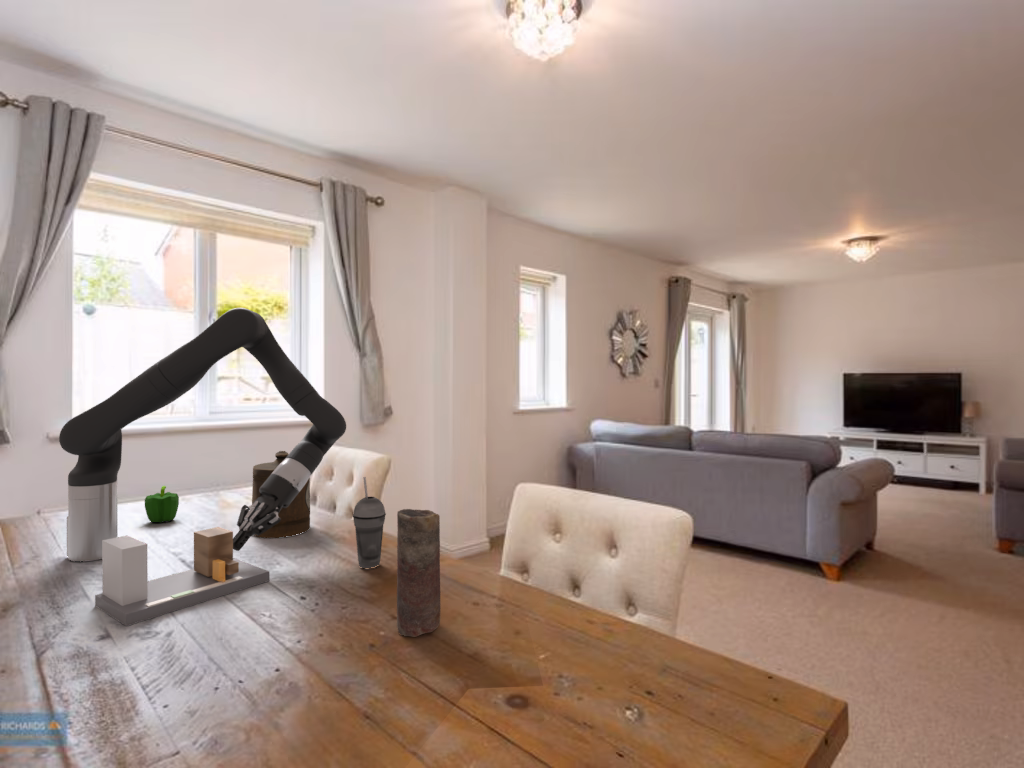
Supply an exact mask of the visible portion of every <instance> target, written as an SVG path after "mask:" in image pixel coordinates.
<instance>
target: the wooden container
mask: <svg viewBox="0 0 1024 768" xmlns="http://www.w3.org/2000/svg"><path fill="white" fill-rule="evenodd" d="M289 454H290V453H289V452H288V451H286V450H279V451H277V452H275V455H274V456H275V458H276V459H275V460H274V461H271V462H264V463H263V462H261V463H259V464H255V465H253V467H252V490H251V491H252V493H251V496H252V497H251V505H253V502H254V501H255V500H256V499H257V498H259V497H260V492H259V488H260V487H261V486H262V485H263V483H264V482H265V481H266V480H267V479H268V477H269V476H270V475H271V474H272V472H273V471H274V470H275V469H276V468H277V466H278V465H279V464H280V463H281V462H283V461H284V460H285V458H286V457H287V456H288V455H289ZM310 477H311V476H310ZM310 477H309V479H308V481H307V482H306V484H305V485H304V487H303V488H302V489H301V490H300V492H299V493H298V494H297V496H296V497H295V498H294V500H293V501H292V502H291V503H290V505H289V506H288V507H287V508H281V510H280V512H279V513H278V517H279V518H281V521H280V522H279V523H277V524H276V525H274V526H273V527H271V528H270V529H268V530H267V531H265V532H264V533H262V534H261V535H259V536H257V535H254V536H253V537H257V538H260V537H261V538H263V539H280V538H279V537H284V538H287V537H286V536H291V537H293V536H292V535H295V536H297V535H296V534H299V535H301V534H300V533H302V532H305V531H306V532H308V531H309V530H310V529H309V528H311V489H310V488H311V482H310V481H311V478H310ZM308 529H309V530H308ZM307 530H308V531H307ZM306 532H305V533H306ZM302 534H303V533H302ZM261 538H260V539H261Z"/></svg>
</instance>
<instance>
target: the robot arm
mask: <svg viewBox="0 0 1024 768" xmlns="http://www.w3.org/2000/svg"><path fill="white" fill-rule="evenodd" d="M241 348H243V349H245V350H246V351H247V352H248V353H249V354H250V355H252V356H253V358H255V359H256V360H257V362H259V363H260V365H261V366H262V367H263V369H264V370H265V371H266V373H267V374H268V376H269V378H270V379H271V381H272V383H273V385H274V387H275V388H276V390H277V391H278V392H279V393H278V394H280V396H282V398H283V399H284V400H285V402H286V403H287V404H288V405H289V407H290V408H292V410H293V411H294V412H295V413H296V414H297V415H298V416H301V417H303V416H304V417H305V418H306V419H308V420H309V422H310V423H312V425H311V427H310V428H309V430H307V432H306V433H305V435H304V436H303V438H302V439H301V440H300V442H299V443H298V444H297V445H295V446H294V448H293V449H292V450H291V451H290V452H289V453H288V454H289V455H288V456H287V457H286V458H285V460H284V461H283V462H281V463H280V464H279V465H278V466H277V468H276V469H275V470H274V471H273V472H272V474H271V475H270V476H269V477H268V479H267V480H266V481H265V482H264V483H263V485H262V486H261V487H260V488H259V492H260V497H259V498H257V499H256V500H255V501H254V502H253V505H252V504H250V505H249V506H248V505H247V504H244V505H243V506H242V507H241V508H240V512H239V516H238V519H237V522H236V526H237V527H238V528H239V529H238V532H237V533H236V534H235V535H234V536H233V551H237V552H239V551H241V549H242V548H244V546H245V544H246V543H247V542H248V541H249V539H250V538H252V537H255V536H254V535H257V536H259V535H261V534H262V533H264V532H265V531H267V530H268V529H270V528H271V527H273V526H274V525H276V524H277V523H279V522H280V521H281V518H279V517H278V513H279V512H280V510H281V508H287V507H288V506H289V505H290V503H291V502H292V501H293V500H294V498H295V497H296V496H297V494H298V493H299V492H300V490H301V489H302V488H303V487H304V485H305V484H306V482H307V481H308V479H309V477H311V476H312V474H313V473H314V472H315V471H316V469H317V468H319V467H318V466H320V464H321V463H322V461H323V458H324V456H325V455H326V454H327V453H328V451H330V449H331V448H332V446H333V445H334V444H335V443H337V441H338V440H340V438H342V436H343V435H344V434H345V433H346V430H347V421H346V419H345V418H344V416H343V414H342V413H341V412H340V411H339V410H338V409H337V408H336V407H335V406H333V405H332V404H331V403H330V402H329V401H328V400H327V399H325V398H323V396H321V395H320V394H319V392H318V390H316V389H315V387H314V386H313V385H312V384H311V382H310V381H309V380H308V379H307V377H305V375H304V374H303V373H302V372H301V371H300V370H299V368H298V367H297V366H296V365H295V364H294V363H293V361H292V360H291V359H290V358H289V357H288V355H287V354H286V352H285V351H284V350H283V348H282V346H281V345H280V344H279V343H278V341H277V339H276V337H275V336H274V334H273V333H272V331H271V329H270V327H269V326H268V324H267V322H266V320H265V319H264V317H263V316H262V315H260V314H259V313H257V312H256V311H253V310H250V309H249V308H245V307H235V308H231V309H228V310H227V311H226V312H225V313H223V314H221V316H219V317H218V318H217V319H216V320H215V321H213V322H212V323H211V324H210V325H209V326H208V327H206V328H205V330H204V331H202V332H201V333H200V334H198V335H197V336H196V337H194V338H193V339H191V340H190V341H188V342H186V343H184V344H183V345H181V346H180V347H179V348H176V349H175V350H174V351H172V352H171V353H169V354H168V355H167V356H165V357H163V358H162V359H159V360H158V361H156V362H155V363H153V364H152V365H151V366H150V367H148V368H147V369H145V370H144V371H143V372H142V373H140V374H138V375H137V376H136V377H134V378H133V379H132V380H131V381H129V382H128V383H126V384H125V385H124V386H122V387H121V388H120V389H118V391H116V392H115V393H113V394H112V395H111V396H109V397H108V398H106V399H105V400H103V401H102V402H100V403H98V404H96V405H94V406H92V407H90V408H89V409H87V410H86V411H83V412H82V413H80V414H78V415H76V416H74V417H72V418H70V419H69V420H68V421H67V422H66V423H65V424H64V425H63V426H62V428H61V431H60V433H59V436H58V437H59V438H58V439H59V441H58V442H59V445H60V446H61V448H62V450H64V451H65V452H67V453H69V454H71V455H74V456H78V459H77V462H76V463H75V466H74V467H73V468H72V469H71V470H70V472H69V473H68V474H67V475H68V476H67V484H68V485H67V490H68V491H67V492H68V493H67V494H68V495H67V498H68V499H67V502H68V503H67V504H68V505H67V507H68V508H67V509H68V514H67V515H68V516H66V557H67V556H68V557H67V558H68V561H70V560H71V561H70V562H75V561H80V562H81V561H83V562H92V561H99V560H102V540H107V539H112V538H117V537H118V473H119V471H120V470H121V469H120V468H121V465H122V454H123V453H122V450H123V449H122V448H123V431H122V429H124V428H126V427H127V426H129V424H131V423H133V422H134V421H137V420H138V419H141V418H143V417H145V416H148V415H150V414H152V413H154V412H156V411H158V410H160V409H162V408H164V407H166V406H168V405H170V404H171V403H173V402H175V401H176V400H177V399H179V398H181V397H182V396H184V395H185V394H186V393H187V392H189V391H190V390H191V389H193V388H194V387H195V386H196V385H198V383H199V382H200V381H201V380H202V379H203V378H204V376H205V375H206V374H207V373H208V372H209V370H210V369H211V368H212V367H213V366H214V365H215V364H216V363H217V362H219V361H220V360H222V359H223V358H226V356H228V355H230V354H231V353H233V352H235V351H236V350H239V349H241ZM80 562H79V563H80ZM81 563H82V562H81Z"/></svg>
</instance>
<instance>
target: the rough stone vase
mask: <svg viewBox="0 0 1024 768" xmlns="http://www.w3.org/2000/svg"><path fill="white" fill-rule="evenodd" d="M396 516H397V525H396V527H397V532H396V533H397V535H396V537H397V544H396V545H397V546H396V547H397V549H396V553H397V559H396V561H397V563H396V564H397V565H396V567H397V569H396V573H397V574H396V576H397V577H396V583H397V584H396V628H397V632H398V634H399V633H400V634H401V635H400V634H399V635H400V636H402V635H404V636H403V637H413V638H417V637H419V636H421V635H423V634H427V633H432V632H434V631H436V629H438V628H439V626H440V623H441V618H442V617H441V563H440V562H441V561H440V560H441V537H440V534H441V533H440V532H441V531H440V528H441V527H440V514H438V513H436V512H434V511H432V510H429V509H412V508H403V509H399V510H398V511H397V515H396Z"/></svg>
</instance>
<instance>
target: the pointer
mask: <svg viewBox="0 0 1024 768" xmlns="http://www.w3.org/2000/svg"><path fill="white" fill-rule="evenodd" d="M213 579H214V580H217V581H219V582H220V581H222V582H225V561H222V560H220V559H217V560H213Z"/></svg>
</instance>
